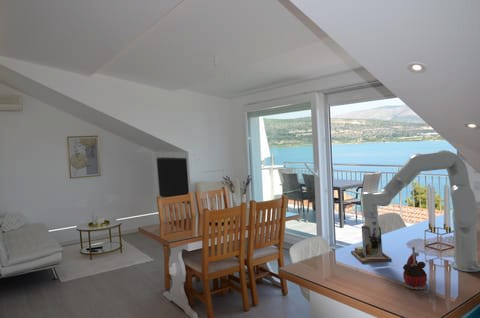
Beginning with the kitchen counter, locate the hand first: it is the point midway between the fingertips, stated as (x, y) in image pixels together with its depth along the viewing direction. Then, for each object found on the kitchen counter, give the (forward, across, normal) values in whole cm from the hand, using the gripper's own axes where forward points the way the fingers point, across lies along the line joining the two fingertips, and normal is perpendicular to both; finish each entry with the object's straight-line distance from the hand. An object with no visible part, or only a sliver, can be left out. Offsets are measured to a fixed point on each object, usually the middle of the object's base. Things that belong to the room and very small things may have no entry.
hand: (372, 246), depth 201 cm
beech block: (+7, +9, +4) cm, 12 cm away
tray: (+8, +4, 0) cm, 9 cm away
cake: (+9, -37, -5) cm, 38 cm away
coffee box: (+5, 0, 0) cm, 5 cm away
